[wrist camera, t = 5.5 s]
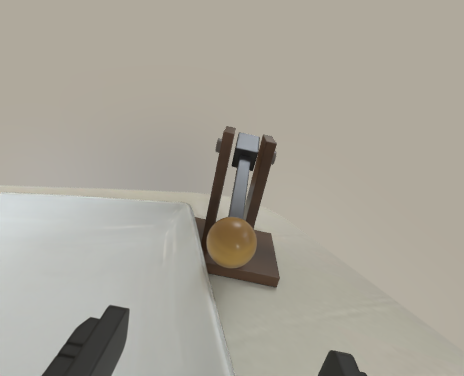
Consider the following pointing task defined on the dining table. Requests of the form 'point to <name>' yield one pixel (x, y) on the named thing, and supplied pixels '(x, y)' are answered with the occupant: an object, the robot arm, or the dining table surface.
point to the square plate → (106, 283)
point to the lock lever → (236, 212)
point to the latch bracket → (264, 259)
